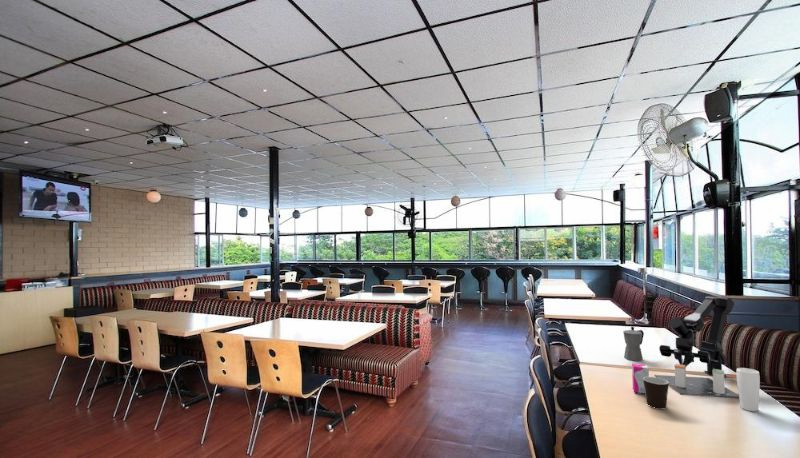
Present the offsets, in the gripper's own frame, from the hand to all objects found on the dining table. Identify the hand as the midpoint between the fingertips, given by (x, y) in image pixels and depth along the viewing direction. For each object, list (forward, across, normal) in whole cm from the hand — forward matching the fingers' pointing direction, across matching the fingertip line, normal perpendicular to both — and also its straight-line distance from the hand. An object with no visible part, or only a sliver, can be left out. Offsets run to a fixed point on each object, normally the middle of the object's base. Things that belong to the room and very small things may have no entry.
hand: (682, 369), depth 177 cm
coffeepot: (-18, -28, +29) cm, 44 cm away
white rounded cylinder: (+14, +23, -3) cm, 27 cm away
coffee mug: (+28, -3, -18) cm, 33 cm away
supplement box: (+20, -12, -10) cm, 26 cm away
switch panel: (+2, +4, +8) cm, 9 cm away
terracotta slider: (+8, 0, +3) cm, 8 cm away
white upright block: (+6, +13, +5) cm, 15 cm away
